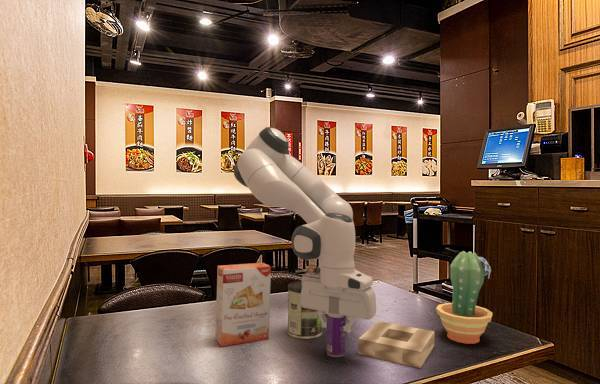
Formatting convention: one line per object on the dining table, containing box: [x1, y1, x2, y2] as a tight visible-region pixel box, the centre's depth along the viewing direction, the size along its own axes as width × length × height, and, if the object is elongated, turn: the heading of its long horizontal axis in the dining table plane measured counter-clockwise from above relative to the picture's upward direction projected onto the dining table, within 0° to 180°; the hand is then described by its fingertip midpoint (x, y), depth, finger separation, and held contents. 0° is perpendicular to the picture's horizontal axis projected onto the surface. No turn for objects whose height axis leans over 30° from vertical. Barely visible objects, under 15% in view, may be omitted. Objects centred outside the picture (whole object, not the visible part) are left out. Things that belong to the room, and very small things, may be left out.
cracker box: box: [215, 262, 272, 347], centre depth 115 cm, size 14×6×21 cm, turn 117°
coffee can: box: [287, 280, 323, 340], centre depth 122 cm, size 10×10×14 cm
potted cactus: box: [435, 250, 493, 345], centre depth 120 cm, size 15×15×25 cm
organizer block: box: [357, 320, 436, 369], centre depth 110 cm, size 16×16×4 cm
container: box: [326, 297, 347, 358], centre depth 107 cm, size 5×5×15 cm
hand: (336, 329), depth 107 cm, fingers closed on container, 5 cm apart
